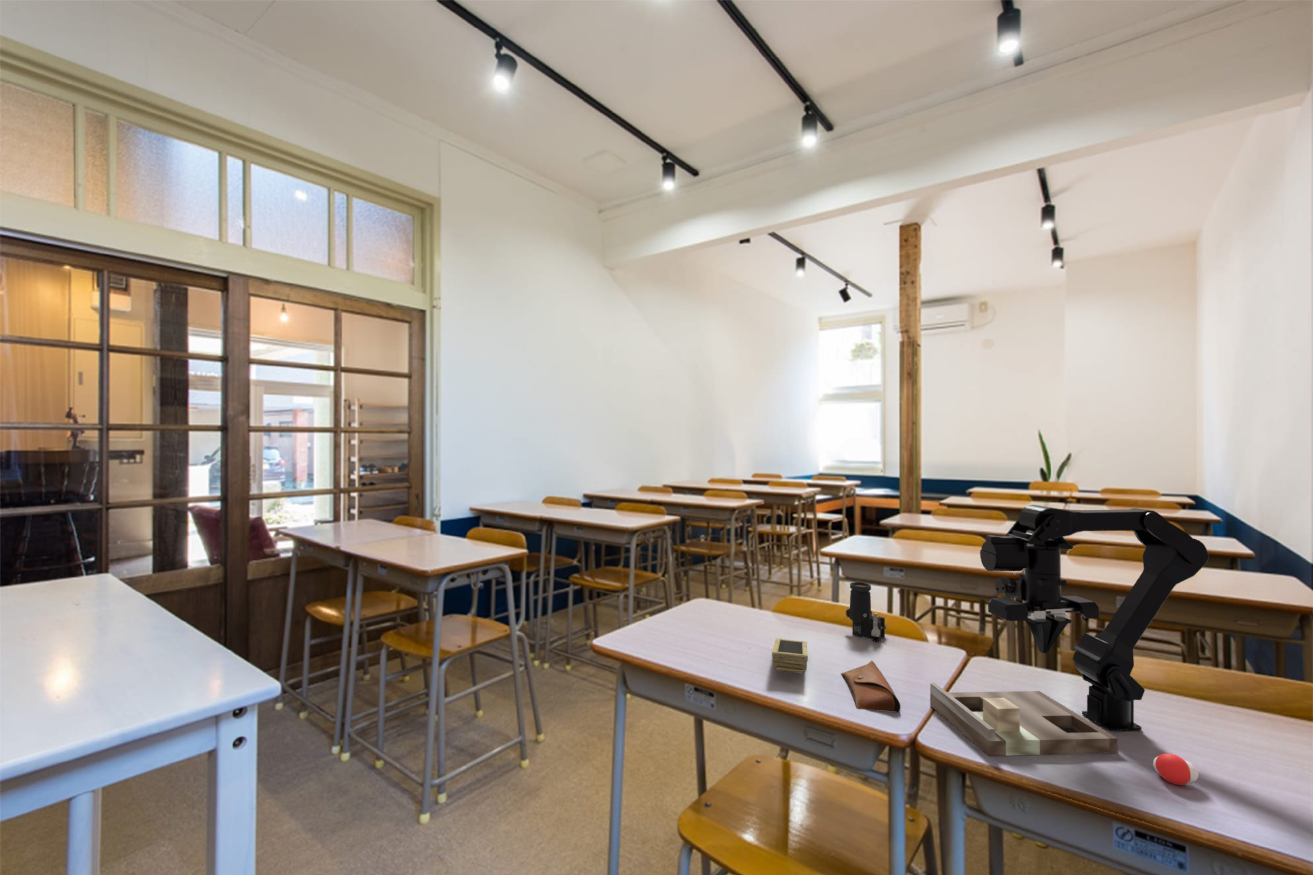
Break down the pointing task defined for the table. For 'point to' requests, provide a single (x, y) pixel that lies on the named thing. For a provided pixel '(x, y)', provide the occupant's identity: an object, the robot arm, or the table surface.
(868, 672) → the sunglasses case
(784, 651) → the box
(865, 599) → the scope
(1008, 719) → the block
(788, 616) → the table surface
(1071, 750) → the trap box
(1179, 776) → the molecule
